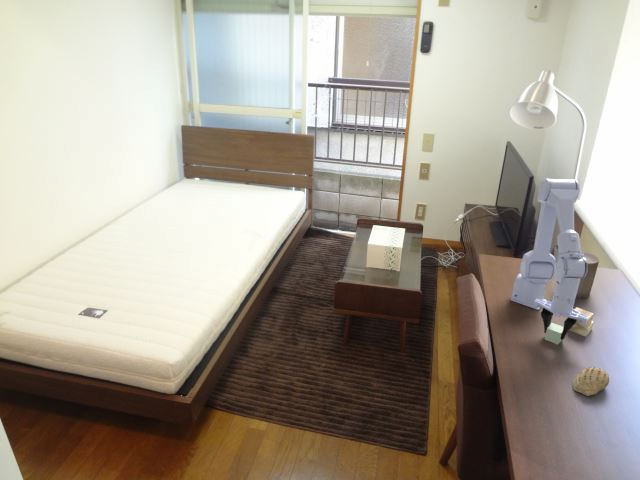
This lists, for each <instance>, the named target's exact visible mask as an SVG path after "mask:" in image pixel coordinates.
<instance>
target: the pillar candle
mask: <svg viewBox="0 0 640 480" xmlns="http://www.w3.org/2000/svg"><path fill="white" fill-rule="evenodd" d="M581 253H582V254H584V257H585V259H586V260H587V265H588V270H587V274H586V276H585V277H584V278H580V283H579V287H578V290H577V294H576V298H577V299H585V298H588V297H590V295H591V291H592V287H593V284H594V282H595V278H596V274H597V269H598V267H599V262H600V259H599V257H598V256H596V255H595V254H592V253H590V252H588V251H582V250H581ZM576 298H575V299H576Z"/></svg>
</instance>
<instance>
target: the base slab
mask: <svg viewBox="0 0 640 480" xmlns="http://www.w3.org/2000/svg"><path fill="white" fill-rule="evenodd" d="M594 323H595V321H593V320H592V322H591V323H590V324H589V325H588V326H587V328H584V327H581V326H579V325H576V324H574V325H573V326H572V327H571V328H570V329H569V330H568V332H572V333H574V334H577V335H579V336H583V337H585V338H587V337H588V336H589V334H590V332H591V330H592V328H593V325H594Z"/></svg>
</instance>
